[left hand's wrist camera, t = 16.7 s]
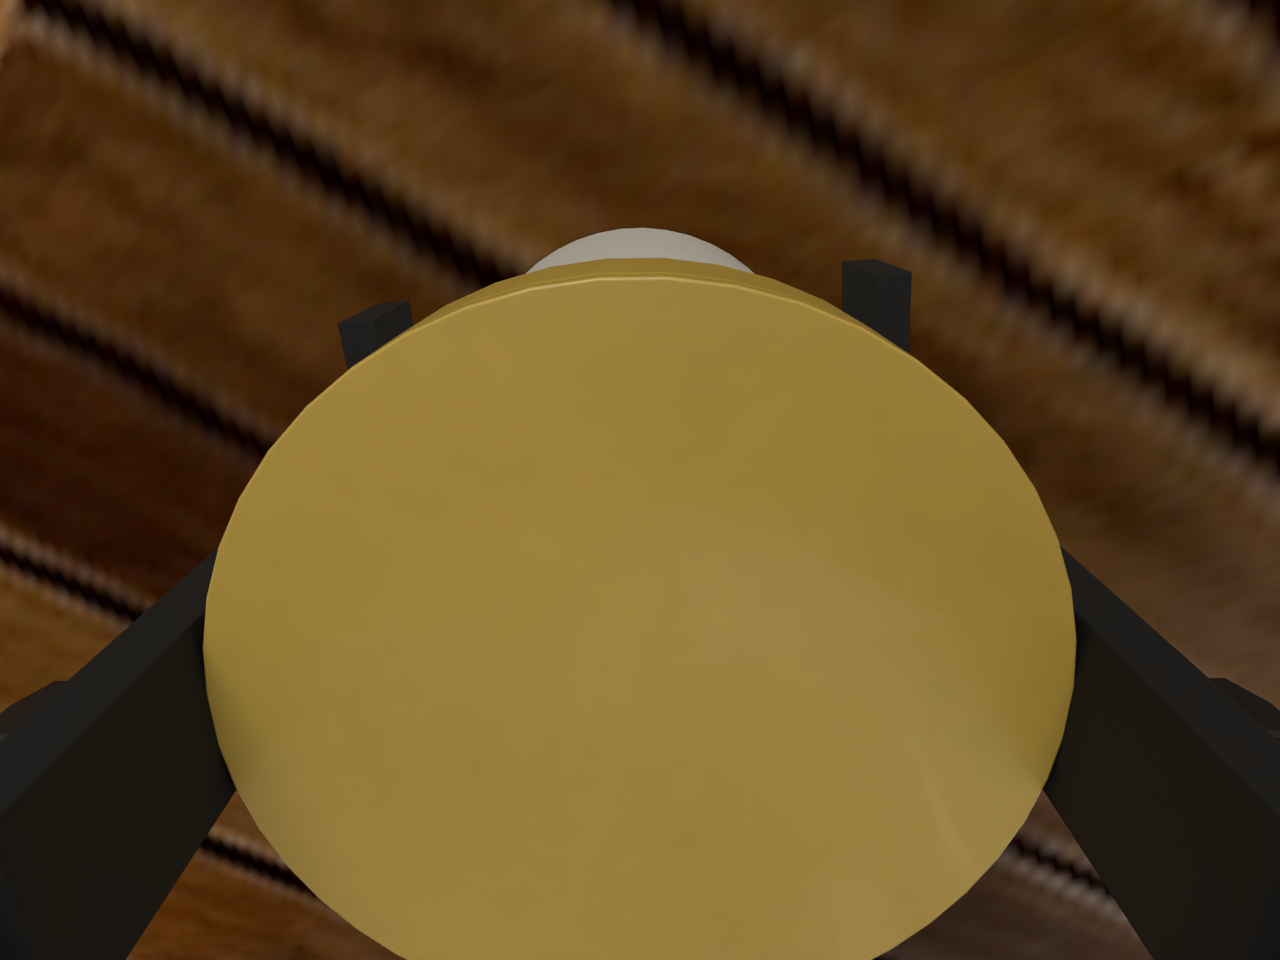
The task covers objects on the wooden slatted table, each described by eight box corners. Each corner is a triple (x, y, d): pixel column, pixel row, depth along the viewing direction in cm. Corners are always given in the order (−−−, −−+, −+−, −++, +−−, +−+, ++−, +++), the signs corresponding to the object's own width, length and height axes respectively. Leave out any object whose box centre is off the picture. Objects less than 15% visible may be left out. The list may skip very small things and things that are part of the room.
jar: (825, 507, 27) (1042, 898, 12) (529, 572, 28) (409, 1008, 13) (770, 189, 23) (983, 217, 9) (433, 274, 24) (126, 426, 10)
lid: (1043, 223, 10) (1135, 233, 8) (981, 886, 14) (1034, 997, 12) (181, 291, 11) (80, 318, 9) (353, 923, 15) (310, 1037, 13)
